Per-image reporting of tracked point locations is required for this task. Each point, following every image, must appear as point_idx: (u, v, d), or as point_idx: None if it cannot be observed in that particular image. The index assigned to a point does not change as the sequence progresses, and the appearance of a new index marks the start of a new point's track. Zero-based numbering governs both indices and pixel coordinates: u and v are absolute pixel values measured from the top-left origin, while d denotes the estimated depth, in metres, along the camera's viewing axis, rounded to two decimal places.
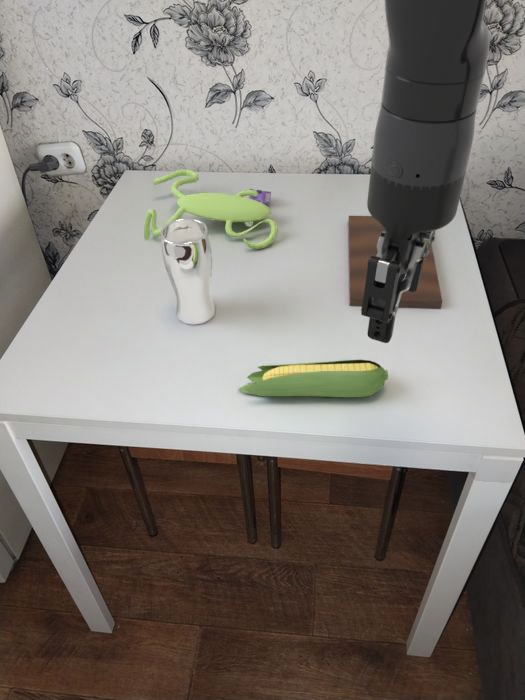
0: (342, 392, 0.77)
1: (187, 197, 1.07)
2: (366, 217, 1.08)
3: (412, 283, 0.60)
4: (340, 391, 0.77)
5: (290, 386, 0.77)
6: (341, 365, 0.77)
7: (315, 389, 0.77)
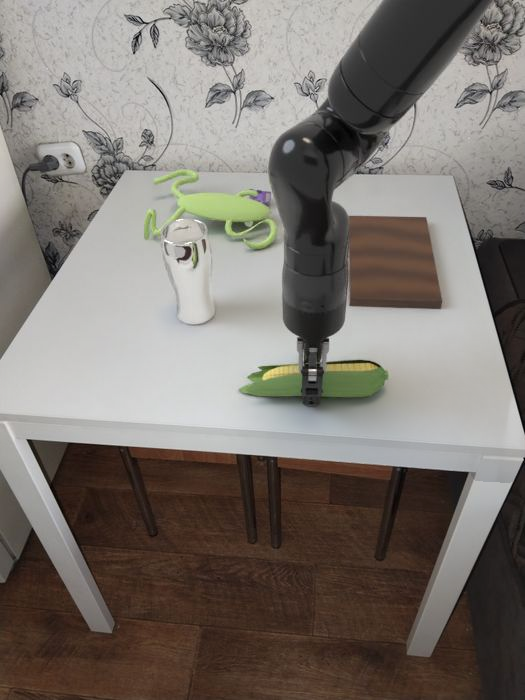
0: (342, 392, 0.77)
1: (187, 197, 1.07)
2: (366, 217, 1.08)
3: None
4: (340, 391, 0.77)
5: (290, 386, 0.77)
6: (341, 365, 0.77)
7: None
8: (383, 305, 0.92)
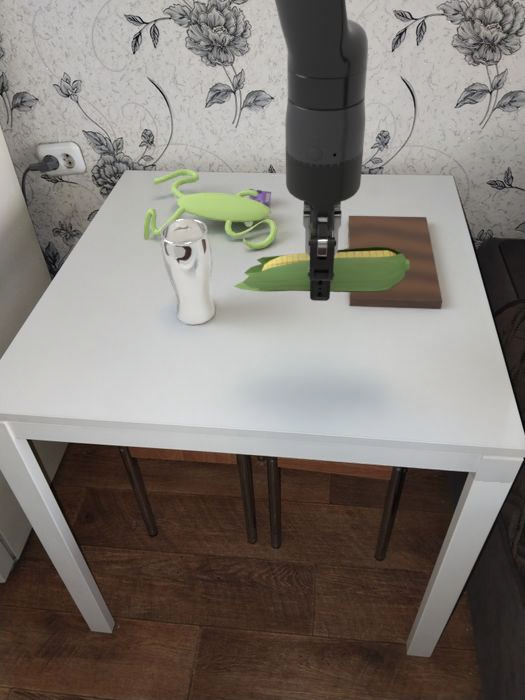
0: (356, 283, 0.65)
1: (187, 197, 1.07)
2: (366, 217, 1.08)
3: None
4: (353, 282, 0.65)
5: (295, 276, 0.65)
6: (354, 253, 0.66)
7: None
8: (383, 305, 0.92)
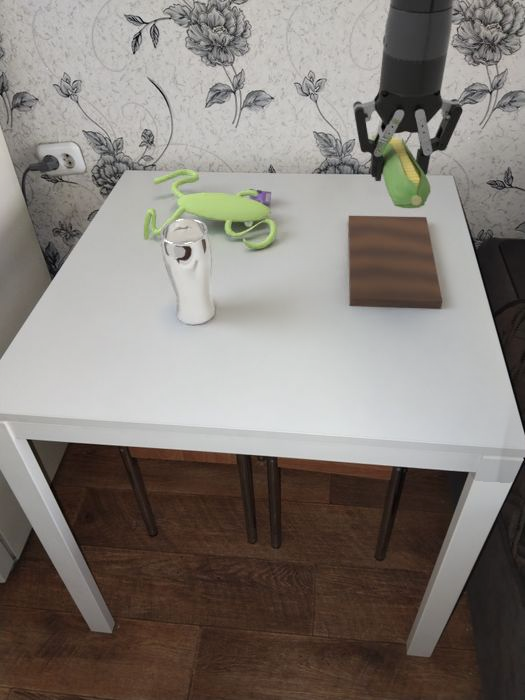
0: (386, 181, 0.78)
1: (187, 197, 1.07)
2: (366, 217, 1.08)
3: None
4: (386, 178, 0.78)
5: None
6: (410, 165, 0.76)
7: (383, 165, 0.80)
8: (383, 305, 0.92)
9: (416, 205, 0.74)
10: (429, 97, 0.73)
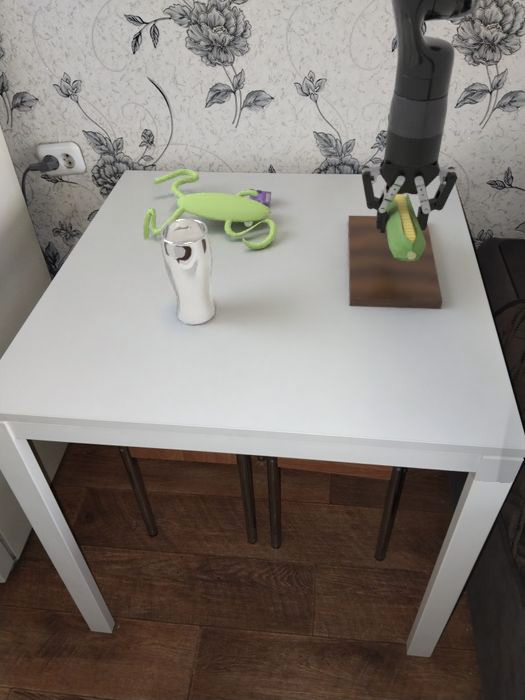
0: (388, 234, 0.89)
1: (187, 197, 1.07)
2: (366, 217, 1.08)
3: None
4: (388, 232, 0.89)
5: None
6: (409, 222, 0.87)
7: (387, 219, 0.91)
8: (383, 305, 0.92)
9: (411, 259, 0.85)
10: (427, 166, 0.84)
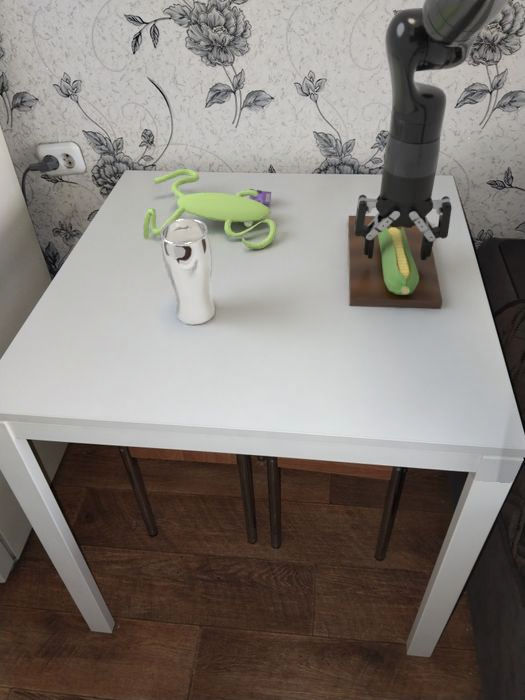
0: (383, 268, 0.93)
1: (187, 196, 1.07)
2: (366, 217, 1.08)
3: (422, 253, 0.95)
4: (383, 266, 0.93)
5: (382, 240, 0.97)
6: (403, 257, 0.91)
7: (383, 253, 0.95)
8: (383, 305, 0.92)
9: None
10: (421, 202, 0.88)
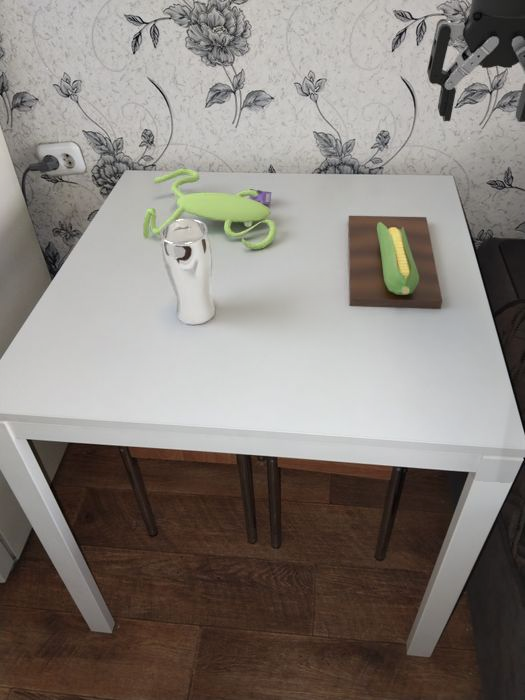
0: (383, 268, 0.93)
1: (187, 196, 1.07)
2: (366, 217, 1.08)
3: (520, 112, 0.68)
4: (383, 266, 0.93)
5: (382, 239, 0.97)
6: (403, 257, 0.91)
7: (383, 253, 0.95)
8: (383, 305, 0.92)
9: None
10: None
